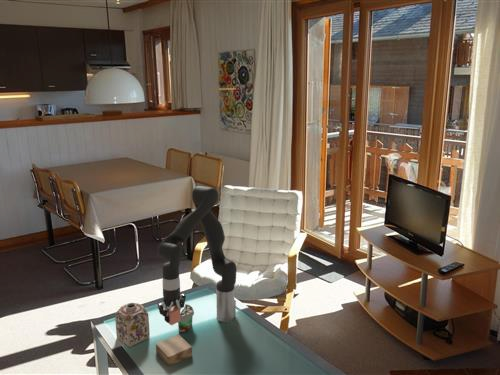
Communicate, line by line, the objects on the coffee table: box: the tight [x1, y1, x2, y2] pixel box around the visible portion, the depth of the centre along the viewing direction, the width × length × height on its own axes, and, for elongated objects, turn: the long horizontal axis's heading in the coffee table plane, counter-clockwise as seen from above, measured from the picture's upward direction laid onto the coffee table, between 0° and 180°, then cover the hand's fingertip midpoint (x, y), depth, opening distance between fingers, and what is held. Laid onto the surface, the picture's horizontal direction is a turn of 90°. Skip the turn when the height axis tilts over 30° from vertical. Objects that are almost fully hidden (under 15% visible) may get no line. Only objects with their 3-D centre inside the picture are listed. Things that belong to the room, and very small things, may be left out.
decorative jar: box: [114, 302, 151, 348], centre depth 214 cm, size 12×12×18 cm
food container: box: [177, 303, 195, 334], centre depth 224 cm, size 12×6×10 cm, turn 168°
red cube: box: [168, 306, 181, 326], centre depth 200 cm, size 5×5×6 cm
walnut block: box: [155, 334, 193, 367], centre depth 205 cm, size 12×12×5 cm
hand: (172, 319), depth 200 cm, fingers closed on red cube, 5 cm apart
